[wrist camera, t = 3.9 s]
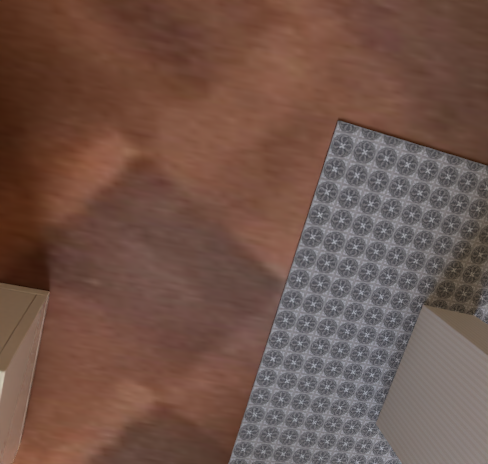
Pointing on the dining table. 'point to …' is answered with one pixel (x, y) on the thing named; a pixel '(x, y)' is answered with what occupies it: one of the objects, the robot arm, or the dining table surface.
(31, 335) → the beige square open box
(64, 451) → the dining table surface
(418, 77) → the dining table surface
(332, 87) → the dining table surface
